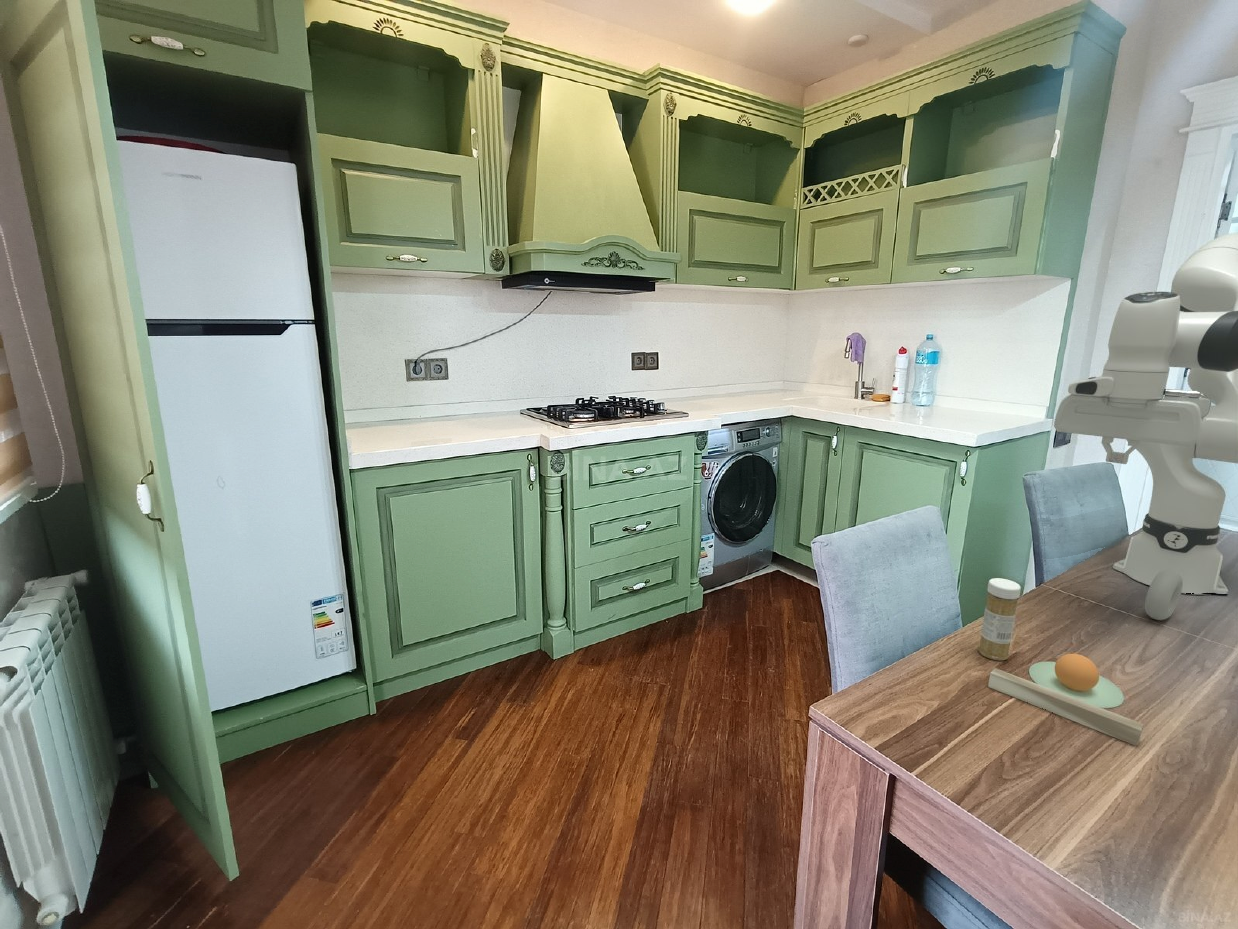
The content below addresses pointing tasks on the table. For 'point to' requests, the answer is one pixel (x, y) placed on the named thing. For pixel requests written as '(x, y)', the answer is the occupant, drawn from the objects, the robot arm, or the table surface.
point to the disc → (1098, 696)
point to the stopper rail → (1067, 706)
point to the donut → (1163, 594)
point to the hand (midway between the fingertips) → (1116, 462)
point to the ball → (1077, 672)
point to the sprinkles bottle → (999, 618)
